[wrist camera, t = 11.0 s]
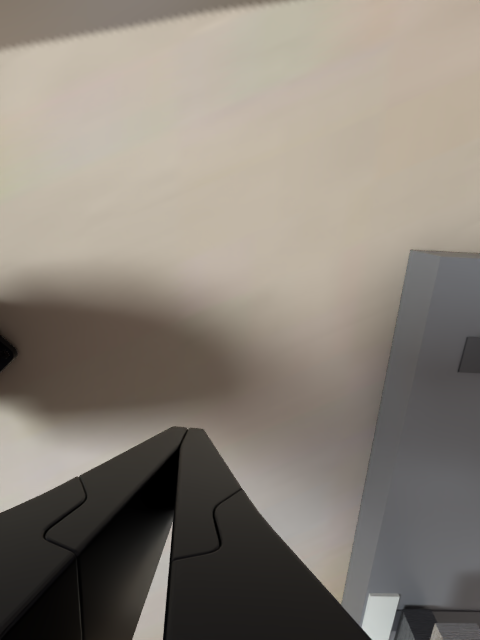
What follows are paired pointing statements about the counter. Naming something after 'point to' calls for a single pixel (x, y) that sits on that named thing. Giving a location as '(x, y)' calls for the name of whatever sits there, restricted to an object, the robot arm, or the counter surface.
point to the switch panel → (424, 458)
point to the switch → (432, 627)
